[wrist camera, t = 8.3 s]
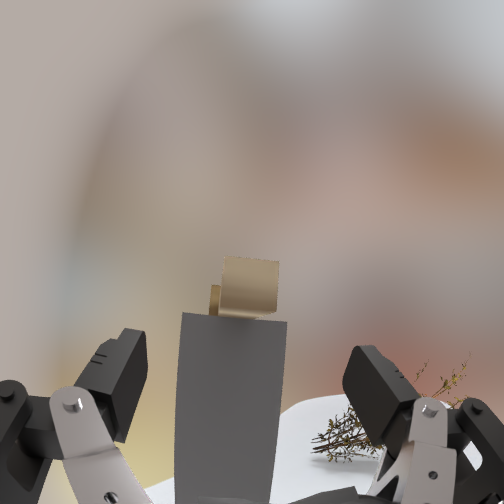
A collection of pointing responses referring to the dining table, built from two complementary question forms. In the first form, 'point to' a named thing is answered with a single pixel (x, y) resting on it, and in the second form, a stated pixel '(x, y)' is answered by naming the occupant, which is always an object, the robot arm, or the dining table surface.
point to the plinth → (227, 407)
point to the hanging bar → (245, 289)
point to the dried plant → (347, 440)
